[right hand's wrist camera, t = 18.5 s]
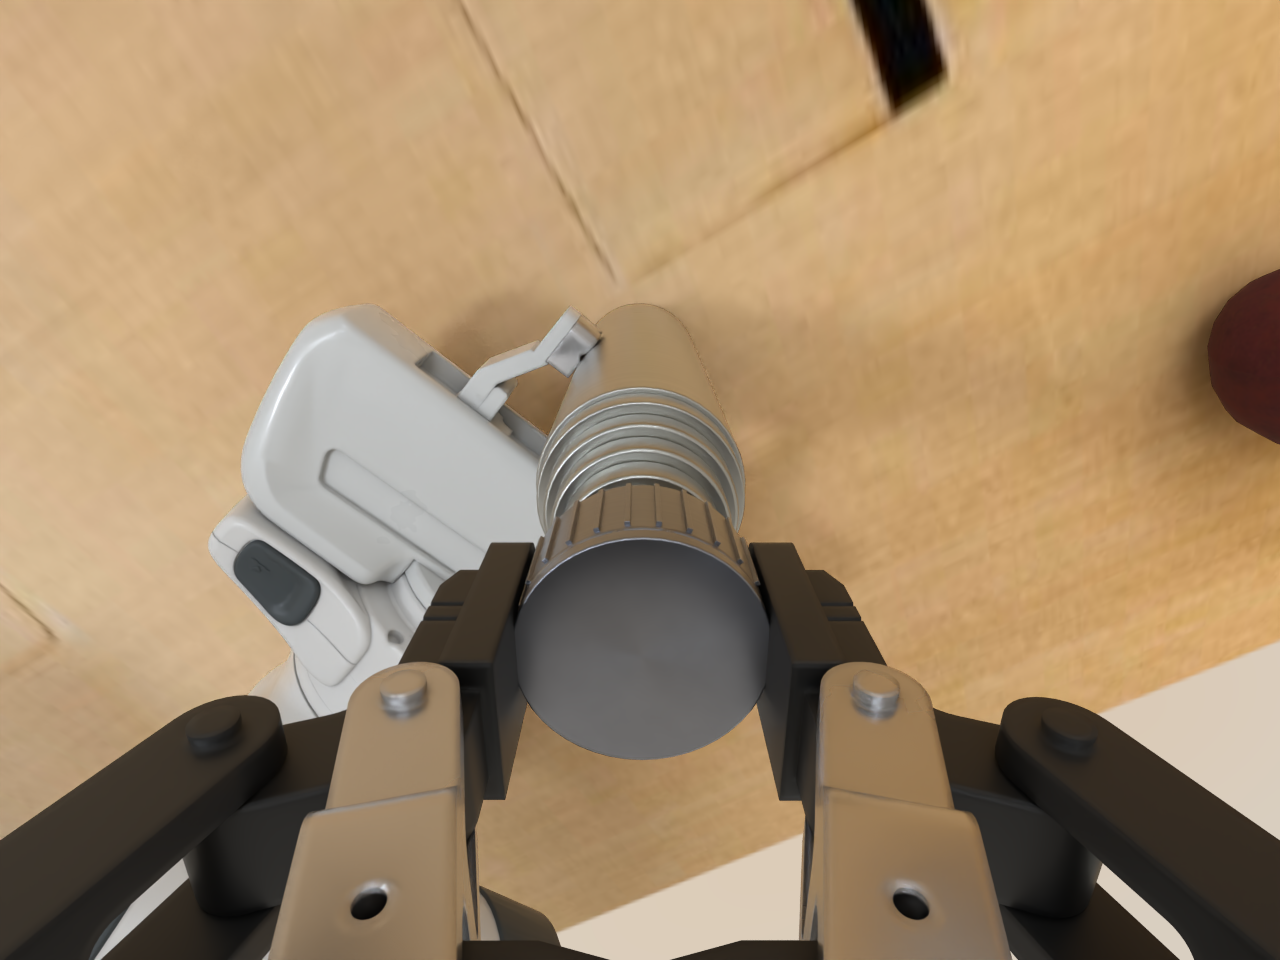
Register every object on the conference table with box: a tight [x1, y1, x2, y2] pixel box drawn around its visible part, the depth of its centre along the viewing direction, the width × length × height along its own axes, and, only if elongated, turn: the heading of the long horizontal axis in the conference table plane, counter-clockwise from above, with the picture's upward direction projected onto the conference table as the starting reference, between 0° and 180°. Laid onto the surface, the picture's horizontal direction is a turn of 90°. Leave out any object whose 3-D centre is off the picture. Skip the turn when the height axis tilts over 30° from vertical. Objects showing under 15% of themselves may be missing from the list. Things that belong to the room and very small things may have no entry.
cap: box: [514, 483, 770, 760], centre depth 11 cm, size 4×4×2 cm
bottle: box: [536, 304, 745, 535], centre depth 21 cm, size 5×5×22 cm
